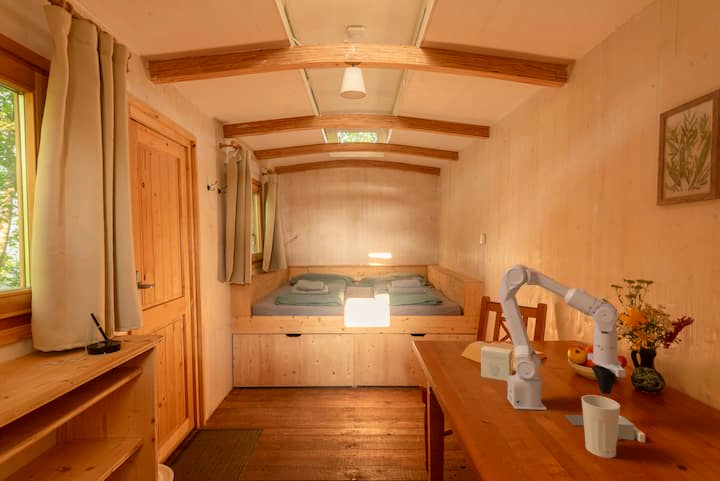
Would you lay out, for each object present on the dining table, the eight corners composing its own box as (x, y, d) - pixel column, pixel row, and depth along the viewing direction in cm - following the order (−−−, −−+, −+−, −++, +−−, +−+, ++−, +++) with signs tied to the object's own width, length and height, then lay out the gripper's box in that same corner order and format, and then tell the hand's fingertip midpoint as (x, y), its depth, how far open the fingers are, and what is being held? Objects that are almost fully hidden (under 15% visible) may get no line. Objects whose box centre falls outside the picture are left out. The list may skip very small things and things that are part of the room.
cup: (574, 442, 93) (574, 395, 93) (603, 440, 94) (603, 394, 94) (597, 460, 85) (597, 410, 85) (628, 459, 86) (628, 408, 86)
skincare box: (512, 376, 137) (512, 349, 137) (509, 382, 132) (509, 353, 132) (484, 371, 143) (484, 344, 143) (480, 376, 138) (480, 349, 138)
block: (618, 439, 94) (618, 424, 94) (608, 431, 98) (608, 416, 98) (634, 440, 94) (634, 424, 94) (624, 432, 98) (624, 417, 98)
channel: (612, 441, 93) (612, 433, 93) (583, 415, 107) (583, 408, 107) (645, 442, 93) (645, 434, 93) (611, 416, 106) (611, 409, 106)
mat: (574, 425, 101) (574, 424, 101) (564, 416, 107) (564, 414, 107) (595, 426, 101) (595, 425, 101) (584, 416, 106) (584, 415, 106)
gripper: (637, 353, 95) (637, 405, 95) (604, 338, 110) (604, 383, 110) (609, 353, 96) (609, 404, 96) (580, 338, 110) (580, 382, 110)
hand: (605, 393), depth 103 cm, fingers closed
